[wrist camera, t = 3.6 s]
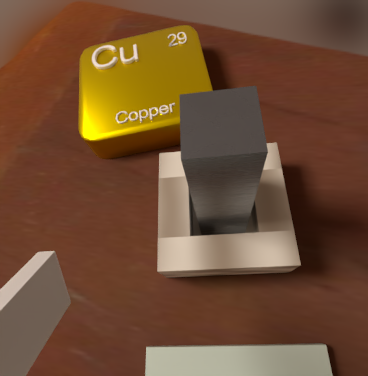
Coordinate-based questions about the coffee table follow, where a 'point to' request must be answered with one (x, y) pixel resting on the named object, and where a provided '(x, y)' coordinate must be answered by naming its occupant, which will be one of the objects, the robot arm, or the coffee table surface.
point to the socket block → (224, 243)
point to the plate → (238, 360)
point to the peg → (222, 156)
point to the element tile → (138, 90)
